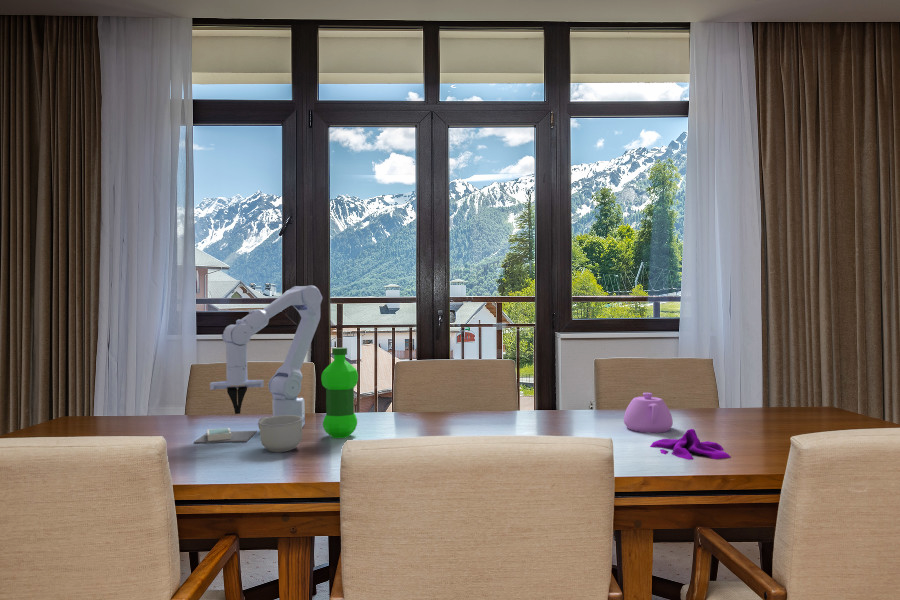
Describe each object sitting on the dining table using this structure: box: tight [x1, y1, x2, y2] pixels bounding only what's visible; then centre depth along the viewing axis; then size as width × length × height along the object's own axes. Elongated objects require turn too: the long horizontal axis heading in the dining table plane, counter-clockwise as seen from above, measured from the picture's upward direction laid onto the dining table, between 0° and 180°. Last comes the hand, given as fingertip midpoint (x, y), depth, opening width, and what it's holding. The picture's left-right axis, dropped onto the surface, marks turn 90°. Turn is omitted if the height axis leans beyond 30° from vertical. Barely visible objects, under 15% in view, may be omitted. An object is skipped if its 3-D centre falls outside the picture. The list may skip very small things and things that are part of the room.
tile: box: [206, 427, 231, 441], centre depth 176 cm, size 8×2×6 cm
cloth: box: [649, 428, 732, 461], centre depth 157 cm, size 22×19×6 cm
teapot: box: [623, 392, 674, 434], centre depth 186 cm, size 14×20×11 cm
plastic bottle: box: [320, 347, 359, 439], centre depth 178 cm, size 10×10×25 cm
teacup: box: [257, 415, 303, 453], centre depth 164 cm, size 14×11×8 cm
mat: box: [193, 430, 258, 444], centre depth 177 cm, size 14×13×1 cm
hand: (237, 413), depth 181 cm, fingers closed
